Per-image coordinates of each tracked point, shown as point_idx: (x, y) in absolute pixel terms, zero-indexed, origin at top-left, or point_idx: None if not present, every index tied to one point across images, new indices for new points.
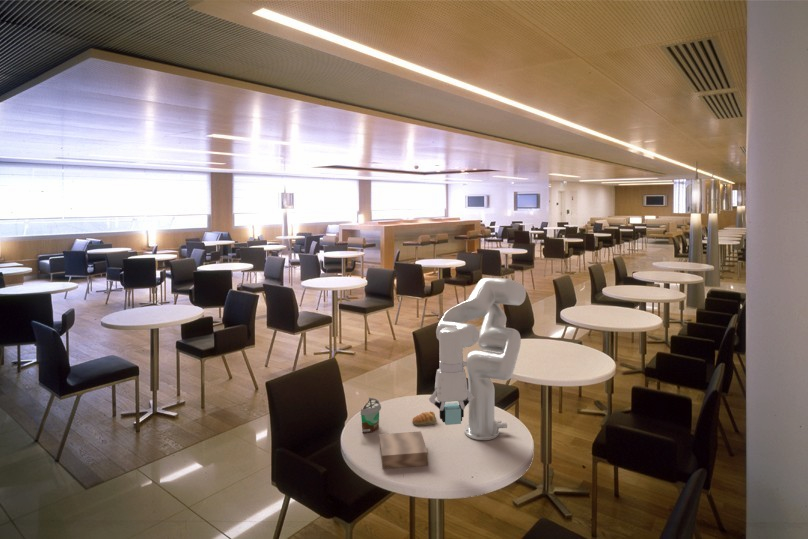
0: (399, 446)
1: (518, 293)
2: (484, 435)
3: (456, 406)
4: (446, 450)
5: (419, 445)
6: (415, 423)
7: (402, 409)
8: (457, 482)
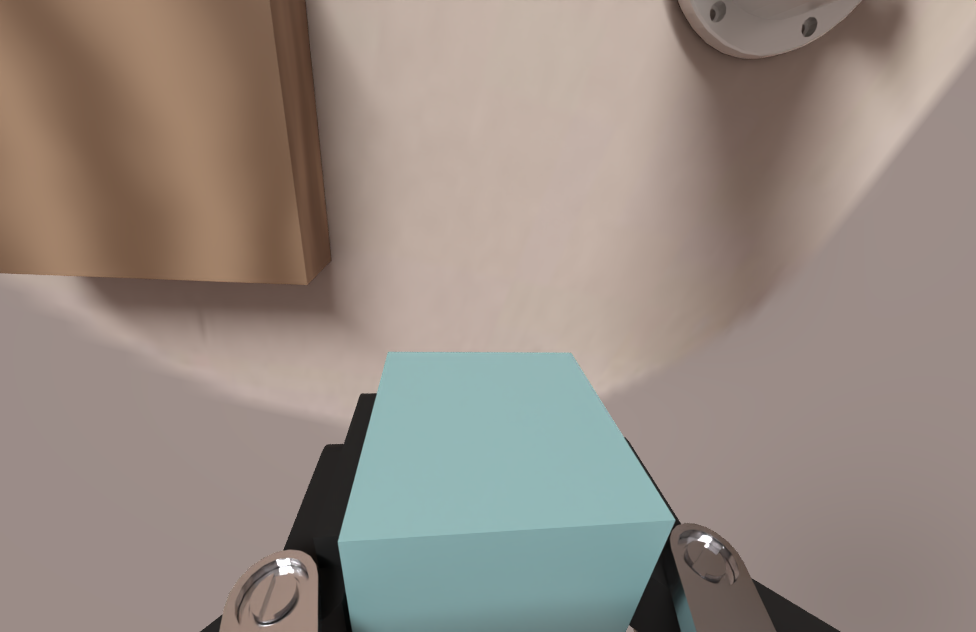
0: (75, 163)
1: None
2: (763, 17)
3: (582, 627)
4: (463, 121)
5: (247, 184)
6: None
7: None
8: None
